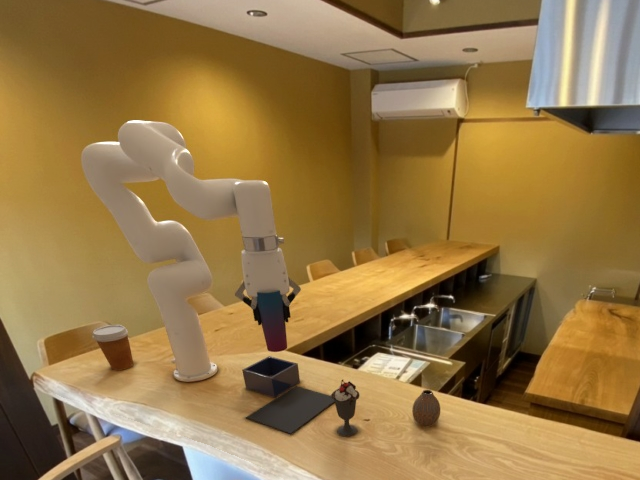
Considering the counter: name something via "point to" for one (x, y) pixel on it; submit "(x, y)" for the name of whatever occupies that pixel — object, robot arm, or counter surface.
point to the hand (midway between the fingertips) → (273, 321)
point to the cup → (272, 320)
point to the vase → (426, 409)
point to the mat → (292, 409)
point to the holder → (281, 372)
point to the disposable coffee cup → (114, 345)
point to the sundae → (346, 406)
